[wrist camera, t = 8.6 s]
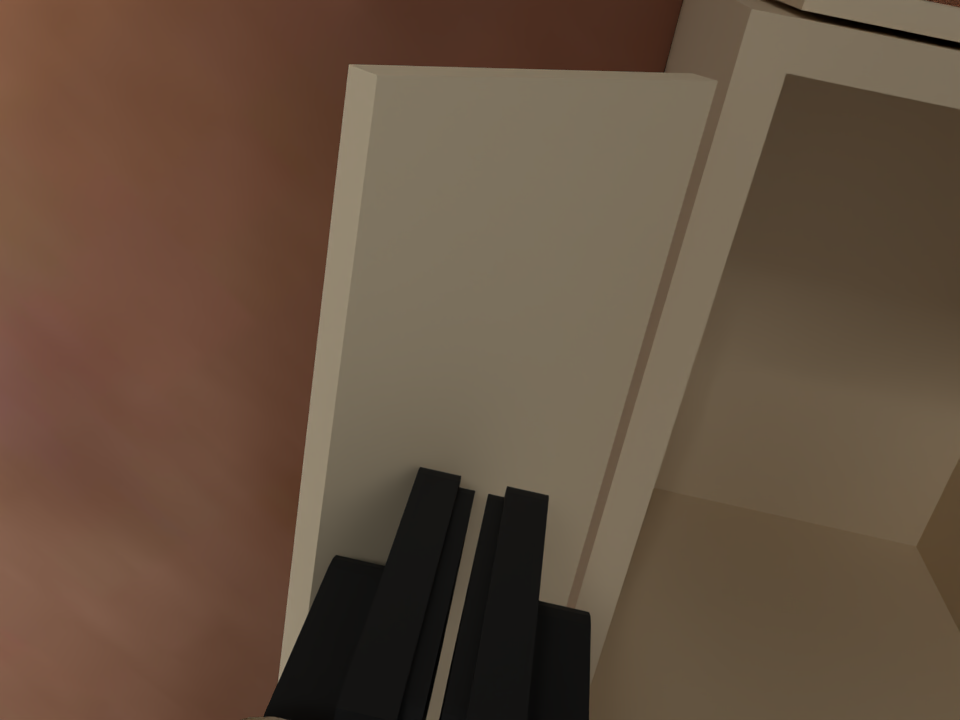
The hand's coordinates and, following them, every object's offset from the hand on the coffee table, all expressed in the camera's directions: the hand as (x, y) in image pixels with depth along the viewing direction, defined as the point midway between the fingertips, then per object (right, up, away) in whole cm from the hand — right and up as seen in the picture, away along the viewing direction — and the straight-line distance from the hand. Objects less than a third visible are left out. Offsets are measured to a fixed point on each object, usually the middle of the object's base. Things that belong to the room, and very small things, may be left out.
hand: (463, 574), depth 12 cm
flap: (0, 0, +1) cm, 1 cm away
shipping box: (+9, +4, +12) cm, 16 cm away
